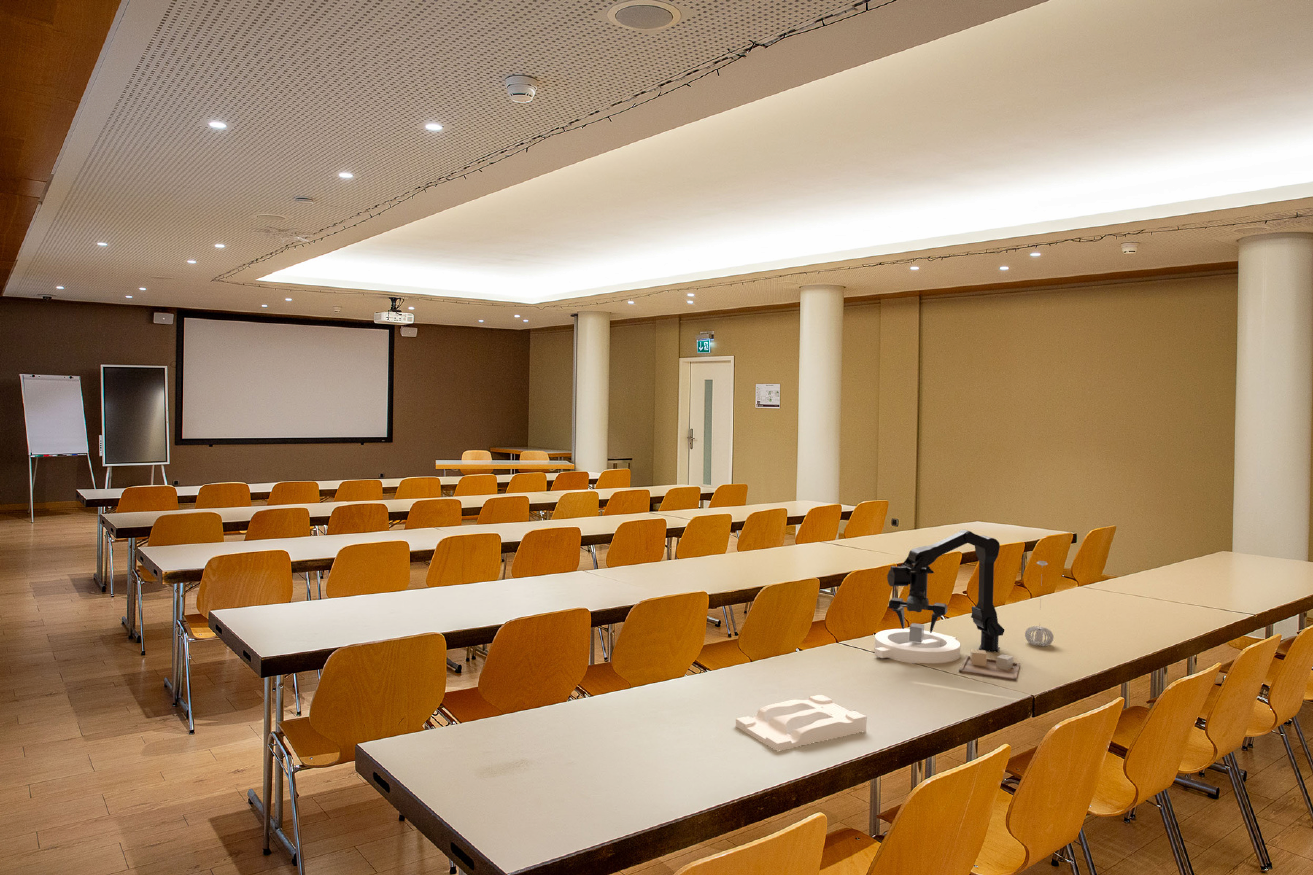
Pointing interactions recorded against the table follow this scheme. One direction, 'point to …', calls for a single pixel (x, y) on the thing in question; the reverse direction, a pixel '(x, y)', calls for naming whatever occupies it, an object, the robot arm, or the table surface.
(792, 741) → the mold
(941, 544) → the robot arm
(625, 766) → the table surface
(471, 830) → the table surface
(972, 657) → the tan cube
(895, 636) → the ring with crossbar
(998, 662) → the beige cube
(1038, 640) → the pendant light
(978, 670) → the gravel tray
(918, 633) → the grey cube block
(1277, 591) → the table surface
